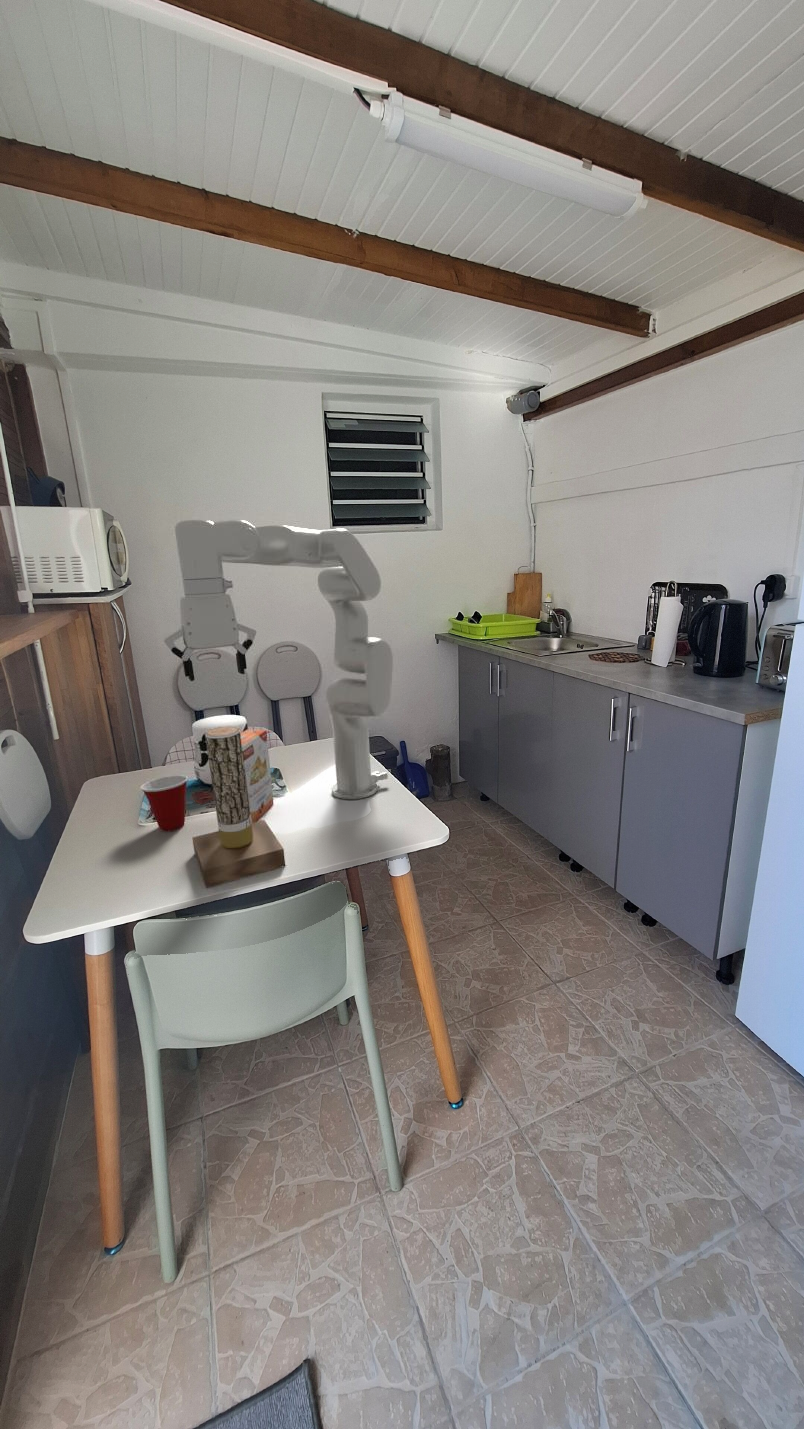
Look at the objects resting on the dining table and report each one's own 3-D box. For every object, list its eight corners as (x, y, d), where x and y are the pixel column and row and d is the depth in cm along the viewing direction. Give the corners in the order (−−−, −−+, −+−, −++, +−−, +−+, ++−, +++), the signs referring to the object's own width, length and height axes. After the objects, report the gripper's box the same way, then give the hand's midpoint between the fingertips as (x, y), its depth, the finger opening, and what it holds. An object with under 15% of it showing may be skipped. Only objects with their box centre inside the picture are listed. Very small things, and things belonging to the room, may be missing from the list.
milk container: (266, 770, 173) (260, 714, 168) (238, 792, 157) (230, 731, 152) (216, 767, 177) (209, 713, 172) (184, 789, 161) (175, 729, 156)
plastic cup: (183, 812, 145) (176, 769, 142) (202, 824, 137) (195, 779, 134) (141, 827, 138) (132, 782, 135) (158, 840, 130) (149, 793, 127)
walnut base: (266, 835, 130) (264, 819, 129) (285, 865, 117) (283, 848, 116) (194, 853, 123) (192, 837, 122) (206, 888, 110) (203, 870, 109)
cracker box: (251, 828, 134) (241, 746, 129) (229, 827, 136) (217, 745, 130) (275, 804, 148) (267, 728, 142) (254, 803, 149) (245, 728, 143)
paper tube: (224, 853, 115) (207, 738, 108) (218, 839, 121) (202, 729, 114) (257, 844, 118) (242, 732, 111) (250, 831, 124) (236, 724, 117)
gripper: (245, 585, 113) (255, 668, 118) (154, 591, 106) (168, 679, 110) (254, 586, 107) (264, 673, 111) (157, 592, 99) (173, 685, 104)
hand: (217, 676), depth 111 cm, fingers open, 9 cm apart
